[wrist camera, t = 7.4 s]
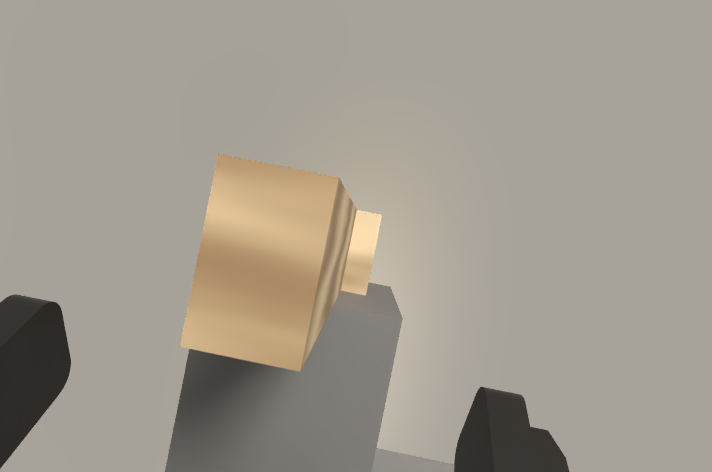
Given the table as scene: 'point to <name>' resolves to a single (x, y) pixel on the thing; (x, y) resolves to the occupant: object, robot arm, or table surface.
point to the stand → (298, 402)
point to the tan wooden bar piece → (274, 261)
